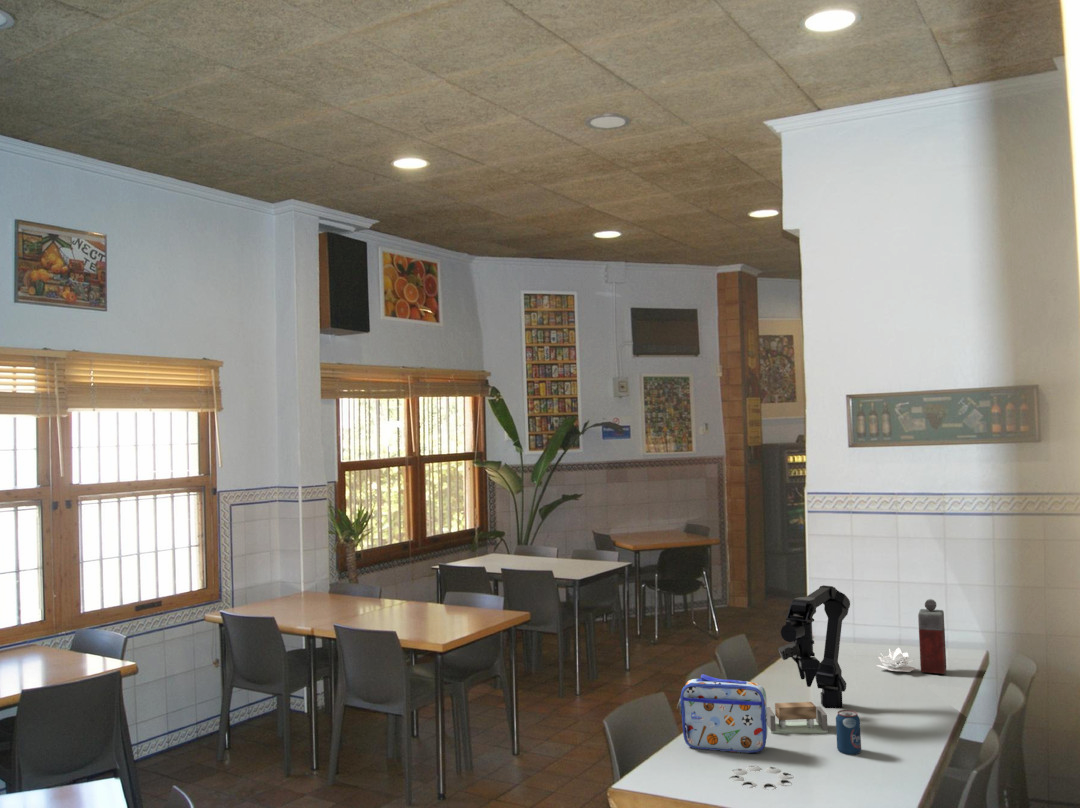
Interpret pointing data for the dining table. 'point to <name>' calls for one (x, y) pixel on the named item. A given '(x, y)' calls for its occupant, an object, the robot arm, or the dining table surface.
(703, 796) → the dining table surface
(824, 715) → the peg cradle
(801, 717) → the shelf block
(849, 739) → the soda can
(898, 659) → the lotus flower
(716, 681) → the lunch box
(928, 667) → the red decanter bottle
